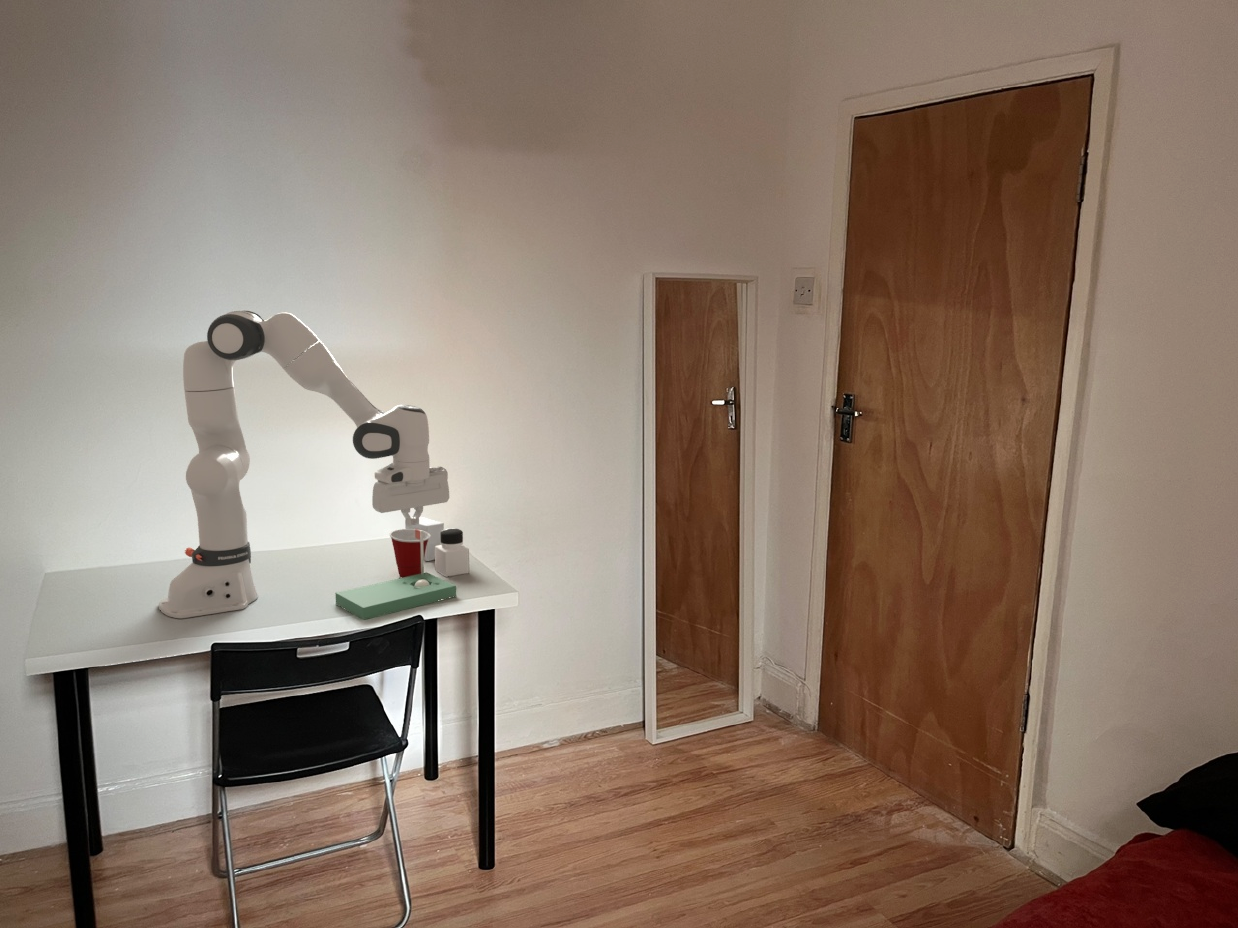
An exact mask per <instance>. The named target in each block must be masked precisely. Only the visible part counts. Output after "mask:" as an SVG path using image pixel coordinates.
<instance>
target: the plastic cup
mask: <svg viewBox="0 0 1238 928" xmlns="http://www.w3.org/2000/svg"><path fill="white" fill-rule="evenodd" d="M420 531H421V530H420ZM389 536H390V538H391V542H392V547H393V553H394V556H395V557H394V558H395V562H396V566H397V567H396V568H397V572H398V575H399V578H401V577H402V578H404V577H408V576H413V575H417V574H421V541H420V540H419V539H416V538H415V529H405V528H400V529H395V530H392V531H391V532H390V533H389ZM430 536H431V535H430V534H429V533H427V532H425V531H423V555H424V556H425V550H426V546H427V542H428V539H429V538H430Z"/></svg>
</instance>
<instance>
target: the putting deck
mask: <svg viewBox="0 0 1238 928" xmlns="http://www.w3.org/2000/svg"><path fill="white" fill-rule="evenodd" d="M415 538H416V539H419V540H420V541H421V574H417V575H413V576H408V577H404V578H401V577H399V578H395V579H390V580H386V581H383V582H377V583H372V584H368V585H364V586H360V587H356V588H351V589H345V590H341V591H336V592H335V605H336V604H337V606H338V605H339V606H338V607H340V606H341V607H340V608H342V607H343V608H345V609H346V611H347V610H348V612H349V611H350V612H349V613H351V614H352V613H353V614H352V615H354V614H355V615H354V616H355V617H358V618H359V619H361V620H363V621H364V620H368V619H372V618H376V617H380V616H384V615H388V614H392V613H396V612H401V611H404V610H408V609H413V608H416V607H421V606H424V605H425V606H426V605H429V604H432V603H433V604H434V603H436V601H437V602H439V601H438V600H441V599H445V598H449V597H453V596H456V597H457V585H456V584H453V583H451V582H449V581H447V580H445V579H443V578H440V577H438V576H436V575H433V574H431V573H429V572H425V571H424V570H425V568H424V567H425V566H424V565H425V560H424V555H423V530H421V531H420V530H417V529H415ZM422 579H423V580H426V581H428V582H429V584H430V585H429V586H424V587H414V585H415V583H416V582H417V581H418V580H422ZM453 598H454V597H453ZM449 599H450V598H449ZM445 600H446V599H445ZM441 601H442V600H441ZM343 608H342V609H343ZM345 609H344V610H345Z"/></svg>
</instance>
